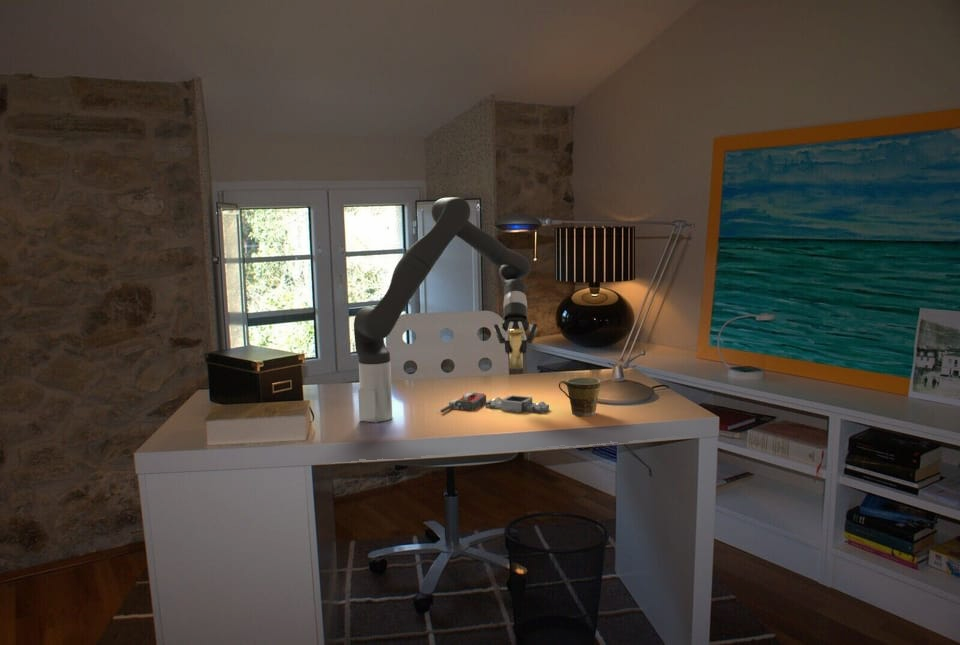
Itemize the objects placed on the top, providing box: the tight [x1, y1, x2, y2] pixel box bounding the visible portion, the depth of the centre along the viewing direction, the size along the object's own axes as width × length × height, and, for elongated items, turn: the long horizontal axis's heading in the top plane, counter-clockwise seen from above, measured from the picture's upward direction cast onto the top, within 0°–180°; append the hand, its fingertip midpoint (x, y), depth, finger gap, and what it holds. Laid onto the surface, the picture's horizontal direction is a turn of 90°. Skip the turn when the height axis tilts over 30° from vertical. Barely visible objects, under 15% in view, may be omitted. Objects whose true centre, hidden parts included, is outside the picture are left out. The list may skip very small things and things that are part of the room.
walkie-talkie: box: [440, 391, 487, 414], centre depth 229 cm, size 9×4×20 cm
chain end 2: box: [500, 395, 550, 414], centre depth 225 cm, size 8×14×3 cm, turn 62°
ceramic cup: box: [558, 377, 601, 418], centre depth 218 cm, size 13×10×10 cm
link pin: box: [508, 328, 524, 370], centre depth 224 cm, size 5×5×12 cm
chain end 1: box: [484, 396, 503, 410], centre depth 229 cm, size 5×7×2 cm
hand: (516, 352), depth 222 cm, fingers closed on link pin, 4 cm apart
